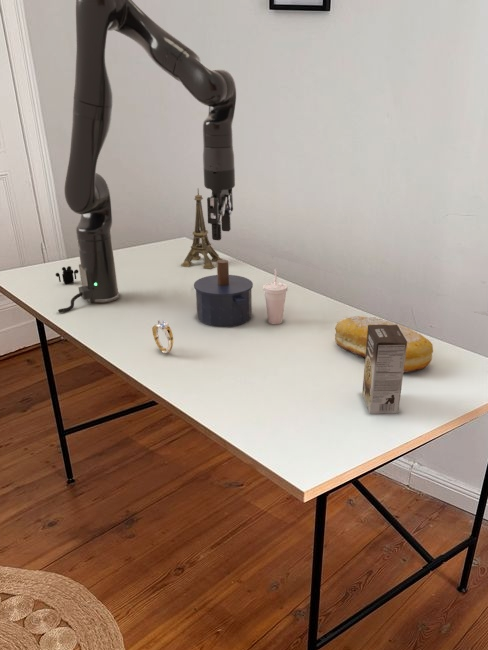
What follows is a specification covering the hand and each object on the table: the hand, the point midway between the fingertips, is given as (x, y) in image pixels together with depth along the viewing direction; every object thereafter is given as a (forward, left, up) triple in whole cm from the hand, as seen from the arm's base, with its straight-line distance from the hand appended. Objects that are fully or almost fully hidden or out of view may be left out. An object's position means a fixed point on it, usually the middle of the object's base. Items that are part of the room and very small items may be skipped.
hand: (221, 235), depth 174 cm
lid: (0, 0, -13) cm, 13 cm away
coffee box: (+4, -61, -22) cm, 65 cm away
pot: (0, 0, -22) cm, 22 cm away
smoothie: (+10, -10, -22) cm, 26 cm away
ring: (-24, -13, -22) cm, 35 cm away
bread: (+20, -42, -22) cm, 51 cm away
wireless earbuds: (-27, +48, -22) cm, 59 cm away
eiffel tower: (+17, +46, -22) cm, 54 cm away
